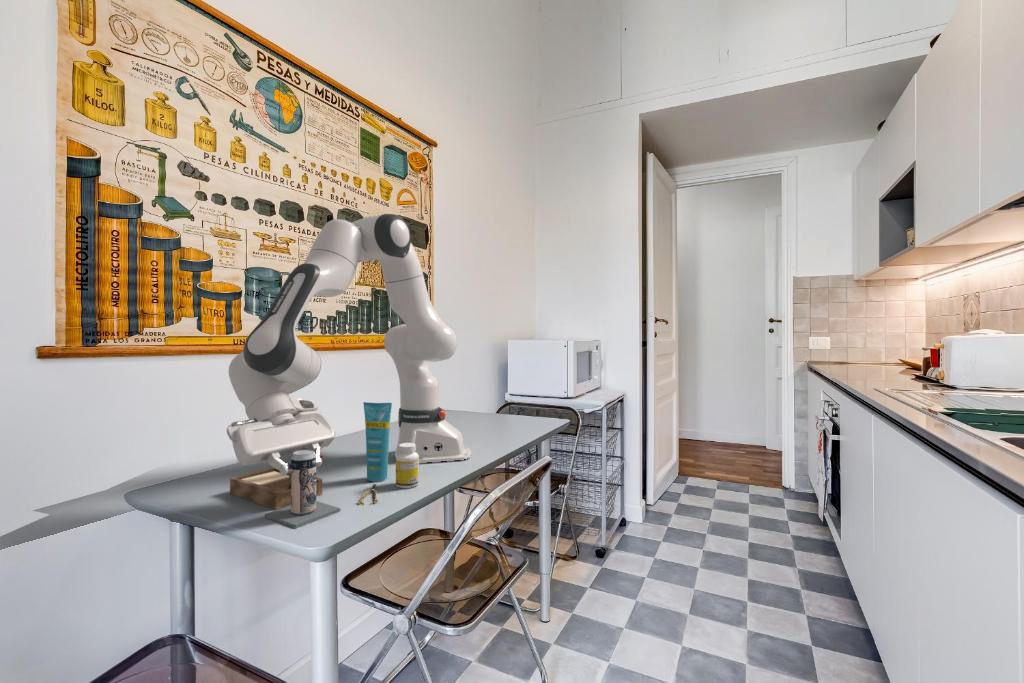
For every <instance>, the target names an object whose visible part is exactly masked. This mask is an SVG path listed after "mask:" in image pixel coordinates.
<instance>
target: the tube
mask: <svg viewBox="0 0 1024 683" xmlns="http://www.w3.org/2000/svg"><path fill="white" fill-rule="evenodd" d="M362 404H363V410H364V411H363V412H364V421H365V422H364V424H365V425H364V426H365V444H366V445H365V448H366V452H365V453H366V454H365V455H366V479H367V481H369V482H373V483H375V482H377V483H378V482H383V480H384V481H386V480H387V479H388V466H389V449H390V446H389V445H390V428H391V413H392V407H393V406H392V405H393V403H392V402H366V401H363V402H362ZM385 479H386V480H385Z"/></svg>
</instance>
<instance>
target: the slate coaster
mask: <svg viewBox="0 0 1024 683" xmlns="http://www.w3.org/2000/svg"><path fill="white" fill-rule="evenodd" d="M316 506H317V508H316V509H315V510H314V511H313V512H311V513H309V514H304V515H297V514H294V513H292V512H291V505H289V506H286V507H283V508H280V509H277V510H276V509H274V510H272V511H270V512H267V513H264V518H267V519H270V520H272V521H274V522H278V523H280V524H283V525H286V526H289V527H291V528H294V529H298V528H301V527H302V526H306V525H308V524H310V523H314V522H316V521H319V520H321V519H323V518H326V517H328V516H331V514H332V515H334V514H336V513H339V512H341V507H338V506H334V505H331V504H328V503H324V502H321V501H317V500H316Z"/></svg>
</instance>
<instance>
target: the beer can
mask: <svg viewBox="0 0 1024 683" xmlns="http://www.w3.org/2000/svg"><path fill="white" fill-rule="evenodd" d="M316 457H317V455H316V454H315V452H314V450H299V451H295V452H294V453H293V455H291V457H290V465H291V467H292V468H293V471H292V472H291V512H292V513H294V514H297V515H304V514H309V513H311V512H313V511H314V510H315V509H316V508H317V506H316V501H317V496H316V477H317V467H316Z"/></svg>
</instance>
